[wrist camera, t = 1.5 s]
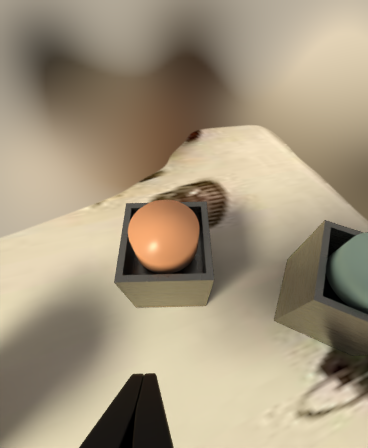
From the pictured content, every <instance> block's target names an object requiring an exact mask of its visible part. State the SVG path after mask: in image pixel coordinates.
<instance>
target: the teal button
mask: <svg viewBox="0 0 368 448" xmlns="http://www.w3.org/2000/svg"><path fill="white" fill-rule="evenodd" d="M326 276H327V279H328V282H329V284H330V286H331V288H332V289H333V291H334V292H335V293H336V295H337V296H338V297H339V298H340V299H341V300H342V301H343V302H344V303H346V304H347V305H348V306H350V307H351V308H353V309H356V310H358V311H361V312H363V313H366V314H368V232H367V233H361V234H358V235H356V236H354V237H353V238H352V239H350V240H349V241H348V242H346V243H345V244H344V245H342V246H341V247H340V248H339V249H337V250H336V251H335V252H333V253H332V254H331V255H330V256H329V258H328V260H327V264H326Z"/></svg>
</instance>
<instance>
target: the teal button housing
mask: <svg viewBox="0 0 368 448" xmlns="http://www.w3.org/2000/svg"><path fill="white" fill-rule="evenodd" d="M361 233H363V232H360V231H357V230H354V229H350V228H347V227H344V226H341V225H338V224H335V223H332V222H329V221H326V220H325V221H324V222H323V223H322V224H321V225H320V226H319V227H318V228H317V229H316V230H315V231H314V232H313V233H312V234H311V236H310V237H309V238H308V239H307V240H306V241H305V242H304V243H303V244H302V245H301V246H300V247H299V248H298V249H297V250H296V251H295V252H294V253H293V254H292V255H291V256H290V258H289V259H288V260H287V264H286V268H285V273H284V277H283V282H282V286H281V291H280V295H279V299H278V304H277V308H276V313H275V317H274V321H276V322H278V323H280V324H283V325H285V326H287V327H289V328H291V329H294V330H296V331H298V332H300V333H303V334H305V335H307V336H309V337H311V338H314V339H316V340H318V341H320V342H323V343H325V344H327V345H329V346H332V347H334V348H336V349H338V350H340V351H343V352H345V353H347V354H349V355H352V356H356V355H368V314H366V313H363V312H361V311H358V310H356V309H353V308H351V307H350V306H348V305H347V304H346V303H344V302H343V301H342V300H341V299H340V298H339V297H338V296H337V295H336V293H335V292H334V291H333V289H332V288H331V286H330V284H329V282H328V279H327V276H326V264H327V260H328V258H329V256H330V255H331V254H332V253H333V252H335V251H336V250H337V249H339V248H340V247H341V246H342V245H344V244H345V243H346V242H348V241H349V240H350V239H352V238H353V237H354V236H356V235H358V234H361Z"/></svg>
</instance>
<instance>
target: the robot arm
mask: <svg viewBox="0 0 368 448" xmlns="http://www.w3.org/2000/svg"><path fill="white" fill-rule="evenodd" d="M79 448H174V447H173V443H172V439H171V435H170V431H169V426H168V422H167V418H166V414H165V410H164V405H163V401H162V397H161V393H160V389H159V385H158V380H157V376H156V374H155V373H148V374H145V375H144V374H133V375H131V377H130V378H129V379H128V381H127V382H126V384H125V385H124V386H123V388H122V389H121V390H120V392H119V393H118V395H117V396H116V397H115V399H114V400H113V402H112V403H111V404H110V406H109V407H108V408H107V410H106V411H105V413H104V414H103V415H102V417H101V418H100V419H99V421H98V422H97V424H96V425H95V426H94V428H93V429H92V431H91V432H90V433H89V435H88V436H87V437H86V439H85V440H84V442H83V443H82V444H81V446H80V447H79Z"/></svg>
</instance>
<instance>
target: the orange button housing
mask: <svg viewBox="0 0 368 448" xmlns="http://www.w3.org/2000/svg"><path fill="white" fill-rule="evenodd" d="M180 203H182V204H184V205H186V206H188V207H189V208H190V209H191V210H192V211H193V212H194V213H195V215H196V217H197V219H198V222H199V239H198V249H197V253H196V255H195V257H194V259H193V260H192V262H191V263H190V264H189V265H188V266H186V267H185V268H184V269H182V270H180V271H177V272H175V273H170V274H160V273H155V272H152V271H150V270H148V269H147V268H145V267H144V266H143V265H142V264H141V263H140V262H139V260H138V258H137V256H136V254H135V252H134V250H133V247H132V245H131V243H130V241H129V237H128V227H129V223H130V220H131V219H132V217H133V215H134V214H135V213H136V212H137V211H138V210H139V209H140V208H141V207H143V206H144V205H146V204H148V203H126V209H125V216H124V222H123V229H122V235H121V242H120V248H119V255H118V261H117V268H116V274H115V281H114V283H115V284H116V285H117V286H118V287H119V288H120V290H121V291H122V292H123V293H124V294H125V295H126V296H127V298H128V299H129V300H130V301H131V302H132V303H133V305H134V306H135V307H136V308H143V307H185V306H206V304H207V300H208V297H209V294H210V291H211V288H212V285H213V282H214V274H213V264H212V254H211V243H210V233H209V223H208V212H207V202H180Z"/></svg>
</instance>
